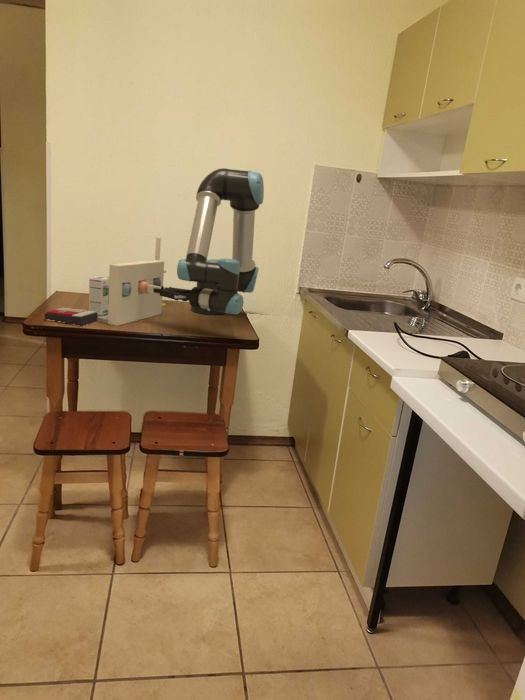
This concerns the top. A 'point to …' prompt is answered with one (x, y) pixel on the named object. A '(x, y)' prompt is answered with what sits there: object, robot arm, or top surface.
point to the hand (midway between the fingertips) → (148, 288)
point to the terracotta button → (143, 286)
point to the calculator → (72, 316)
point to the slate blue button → (126, 289)
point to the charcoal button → (156, 282)
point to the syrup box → (99, 294)
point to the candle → (158, 253)
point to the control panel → (133, 292)
